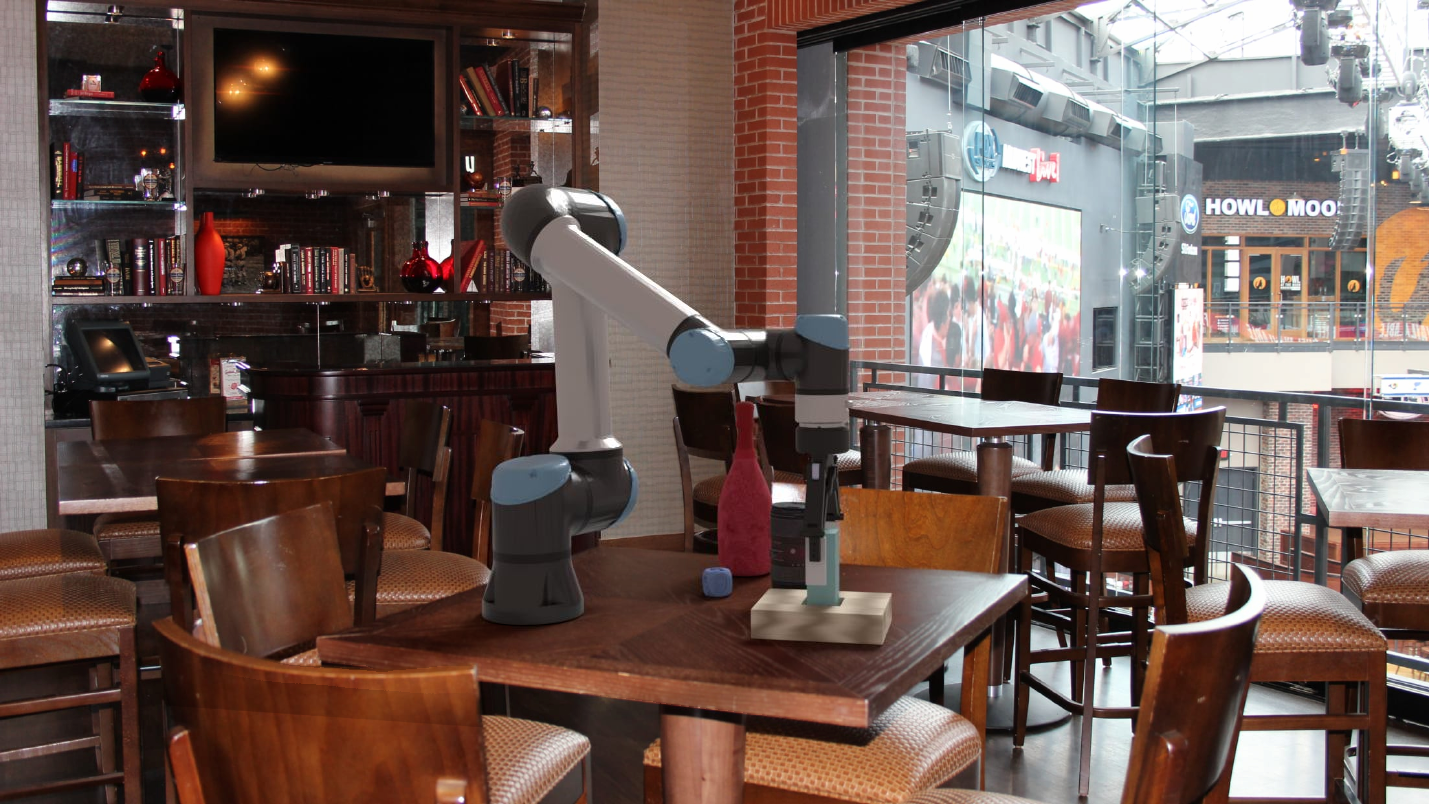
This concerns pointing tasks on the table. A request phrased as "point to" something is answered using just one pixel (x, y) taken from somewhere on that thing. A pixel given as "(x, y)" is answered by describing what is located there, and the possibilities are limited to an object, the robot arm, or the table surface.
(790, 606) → the socket block
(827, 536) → the peg
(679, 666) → the table surface
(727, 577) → the decorative dice
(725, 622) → the table surface
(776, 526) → the camera lens
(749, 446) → the wine bottle
